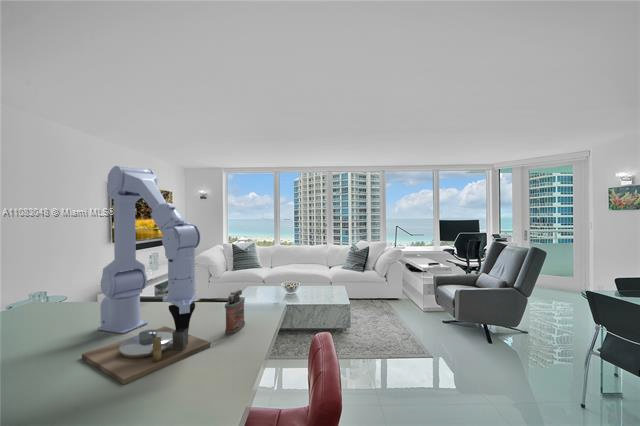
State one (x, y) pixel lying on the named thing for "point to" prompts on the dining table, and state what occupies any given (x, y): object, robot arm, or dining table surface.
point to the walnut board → (138, 367)
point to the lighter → (234, 313)
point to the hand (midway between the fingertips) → (182, 335)
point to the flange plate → (144, 342)
